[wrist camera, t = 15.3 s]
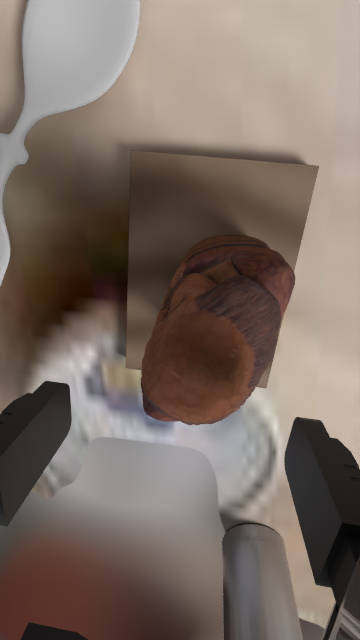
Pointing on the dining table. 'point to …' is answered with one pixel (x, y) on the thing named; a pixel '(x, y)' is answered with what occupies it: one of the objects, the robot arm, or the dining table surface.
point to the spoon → (65, 69)
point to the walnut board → (203, 222)
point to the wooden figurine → (215, 330)
